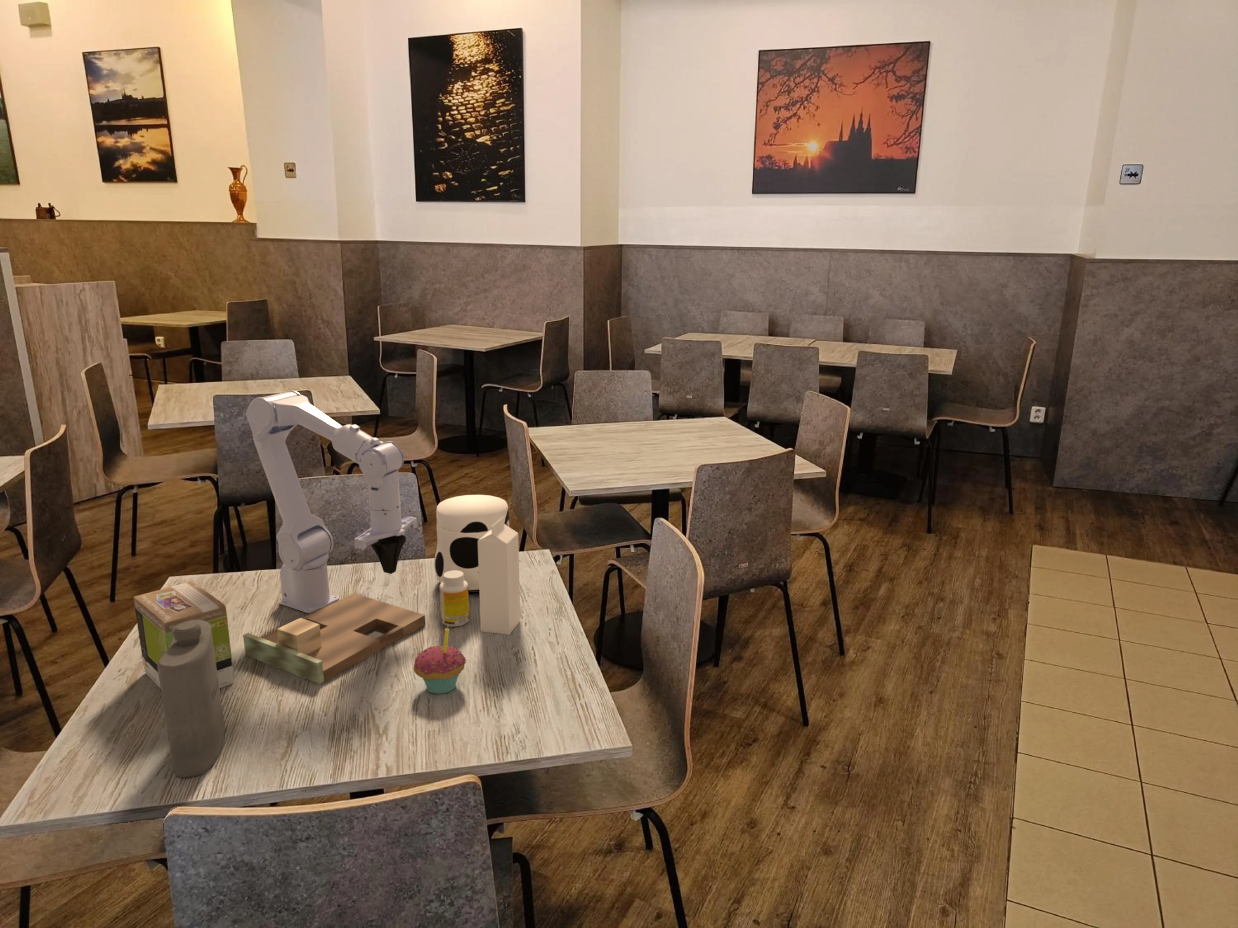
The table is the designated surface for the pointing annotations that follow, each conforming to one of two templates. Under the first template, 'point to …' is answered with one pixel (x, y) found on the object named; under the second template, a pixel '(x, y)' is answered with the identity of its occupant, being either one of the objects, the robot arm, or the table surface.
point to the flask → (192, 699)
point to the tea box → (171, 609)
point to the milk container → (465, 533)
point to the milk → (499, 579)
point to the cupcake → (440, 666)
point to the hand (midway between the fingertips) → (389, 571)
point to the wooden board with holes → (338, 637)
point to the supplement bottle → (454, 599)
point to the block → (300, 636)
